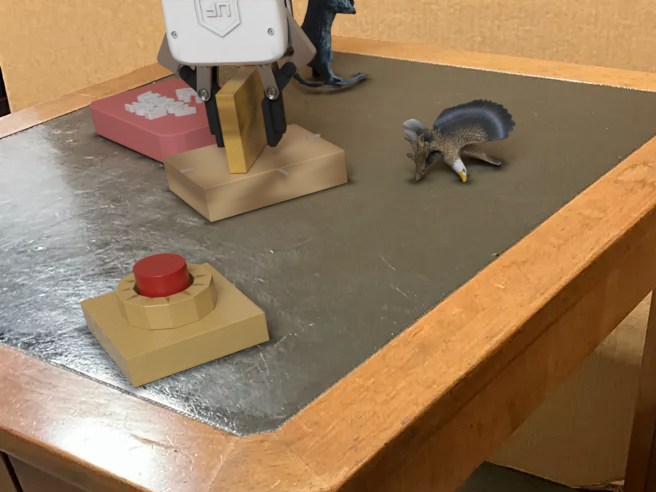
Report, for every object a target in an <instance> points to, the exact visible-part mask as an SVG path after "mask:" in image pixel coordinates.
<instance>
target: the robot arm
mask: <svg viewBox="0 0 656 492" xmlns="http://www.w3.org/2000/svg"><path fill="white" fill-rule="evenodd" d="M160 3H161V9H162V16H163V23H164V28H165V29H164V30H165V33H164V36H163V39H162V41H161V44H160V47H159V49H158V52H157V54H156V55H157V56H156V61H157V63H158V64H159V65H160V66H162V67H164V68H165V69H166V70H168V71H170V72H172V74H174V75H177V76H179V79H182V80H183V81H184V82H186V83H187V84H188V85H189V86H190V87H191V88H192V89H193V90H194V91H196V92H197V95H198V97H199V99H201V100H202V101H204V103H205V108H206V114H207V119H208V124H209V129H210V133H211V135H215V137H216V143H217V147H218V148H224V147H225V145H224V139H223V134H222V128H221V123H220V118H219V112H218V107H217V102H216V96H215V95H216V94H217V93H218V92H219V90H220V89H221V87H220V86H219V84H220V67H221V66H222V67H223V66H242V65H256V67H257V70H258V73H259V76H260V79H261V82H262V85H263V88H264V99H263V100H262V101H261V107H262V113H263V120H264V126H265V133H266V139H267V144H268V145H269V146H270V147H276V146H277V145H278V143H279V142H280V140H281V139H282V137H283V134H285V133H286V130H287V126H288V125H287V118H286V110H285V104H284V103H285V102H284V97H283V96H284V95H283V91H284V90H285V88H286V87H287V85H288V84H289V83H290V82H291V80H292V79H293V76H294V75H295V74H296V73H298V74H299V72H300V71H301V70H303V69H304V68H305V67H306V66H307V64H308V63H309V62H311V61H312V60H313V58H314V57H315V55H316V49H315V47H314V45H313V44H312V43H311V41H310V40H309V38H308V37H307V36H306V34H305V33H304V32H303V30H302V29H301V25H300V24H299V23H298V22H297V21H296V19H295V17H294V18H293V16H292V11H291V5H290V0H160ZM290 46H292V48H293V50H294V53H293V54H292V55H290V57H288V59H286V60H285V62H284V63H283V64H282V65H281V63H280V59H282V58H283V57H284V56H283V55H284V53H285V52H286V51H287V48H289V47H290Z"/></svg>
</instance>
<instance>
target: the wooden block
mask: <svg viewBox="0 0 656 492" xmlns="http://www.w3.org/2000/svg"><path fill="white" fill-rule="evenodd" d="M224 84H225V85H224V86H223V87H222V88H221V89H220V90H219V92H218V93H217V94H216V95H215V96H216V102H217V107H218V112H219V118H220V123H221V128H222V134H223V139H224V145H225V150H226V155H227V161H228V166H229V171H230V173H247V172H248V170H249V169H250V167H251V166H252V165H253V163H254V162H255V160H256V159H257V157H258V156H259V154H260V153H261V152H262V150H263V149H264V147H265V146H266V144H267V139H266V133H265V126H264V120H263V113H262V107H261V101H262V100H263V99H264V88H263V85H262V82H261V79H260V76H259V73H258V70H257V67H256V65H240V67H239V68H238V70H237V71H236V72H235V73H234V74H233V75H232V76H231V77H230V78H229V79H228V80H227V81H226V83H224Z"/></svg>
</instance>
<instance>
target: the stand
mask: <svg viewBox="0 0 656 492" xmlns="http://www.w3.org/2000/svg"><path fill="white" fill-rule="evenodd" d="M321 136H322V135H321V133H316V134H315V133H314V132H311V131H310V130H307V129H306V128H304V127H302V126H300V125H298V124H296V123H291V124H288V125H287V130H286V133H285V134H283V137H282V139H281V140H280V142H279V143H278V145H277V146H276V147H270V146H269V145H268V144H266V146H265V147H264V149H263V150H262V152H261V153H260V154H259V156H258V157H257V159H256V160H255V162H254V163H253V165H252V166H251V167H250V169H249V170H248V172H247V173H230V171H229V166H228V161H227V155H226V150H225V147H224V148H218V147H217V144H214V145H210V146H206V147H202V148H198V149H195V150H191V151H187V152H183V153H179V154H175V155H171V156H167V157H163V162H162V163H163V167H164V172H165V176H166V179H167V183H168V188H169V190H170V191H171V192H172V193H173V194H175V195H176V196H178V197H179V199H181V200H182V201H184V202H185V203H186V204H187V205H188V206H190V207H191V208H192V209H194V210H195V211H196V212H197V213H199V214H200V215H201V216H203V217H204V218H205V219H206V220H208V221H209V222H210V223H214V222H217V221H220V220H223V219H227V218H231V217H234V216H238V215H242V214H244V213H248V212H251V211H255V210H258V209H262V208H265V207H268V206H272V205H276V204H279V203H283V202H286V201H289V200H293V199H297V198H300V197H303V196H306V195H309V194H313V193H317V192H320V191H324V190H327V189H331V188H333V187H337V186H341V185H345V184H348V183H349V181H348V173H347V172H348V171H347V164H346V161H347V160H346V152H345V151H346V150H345V149H344V148H341V147H340V146H337V145H336V144H333V142H332V143H331V142H330V141H329V140H327V139H325V138H323V137H321Z"/></svg>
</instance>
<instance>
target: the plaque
mask: <svg viewBox="0 0 656 492" xmlns="http://www.w3.org/2000/svg"><path fill="white" fill-rule="evenodd" d="M225 84H226V83H219V86H220V87H221V88H222V87H223V86H224V85H225ZM88 107H89V110H90V114H91V119H92V122H93V126H94V129H95V132H96V134H97V135H98V136H101V137H103V138H105V139H108V140H110V141H112V142H114V143H117V144H119V145H121V146H124V147H126V148H128V149H130V150H133V151H135V152H137V153H140V154H142V155H144V156H146V157H149V158H151V159H154V160H156V161H158V162H160V163H163V157H167V156H171V155H175V154H179V153H183V152H187V151H191V150H195V149H198V148H202V147H206V146H210V145H214V144H217V143H216V137H215V135H211V133H210V129H209V124H208V119H207V114H206V108H205V103H204V101H202V100H201V99H199V97H198V95H197V92H196V91H194V90H193V89H192V88H191V87H190V86H189V85H188V84H187V83H186V82H184V81H183V80H182V79H181V78H169V79H166V80H162V81H159V82H155V83H152V84H151V83H150V84H148V85H145V86H140V87H138V88H134V89H131V90H127V91H124V92H120V93H116V94H113V95H109V96H106V97H102V98H98V99H96V100H92V101H91V102H90V104H89V105H88Z"/></svg>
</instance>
